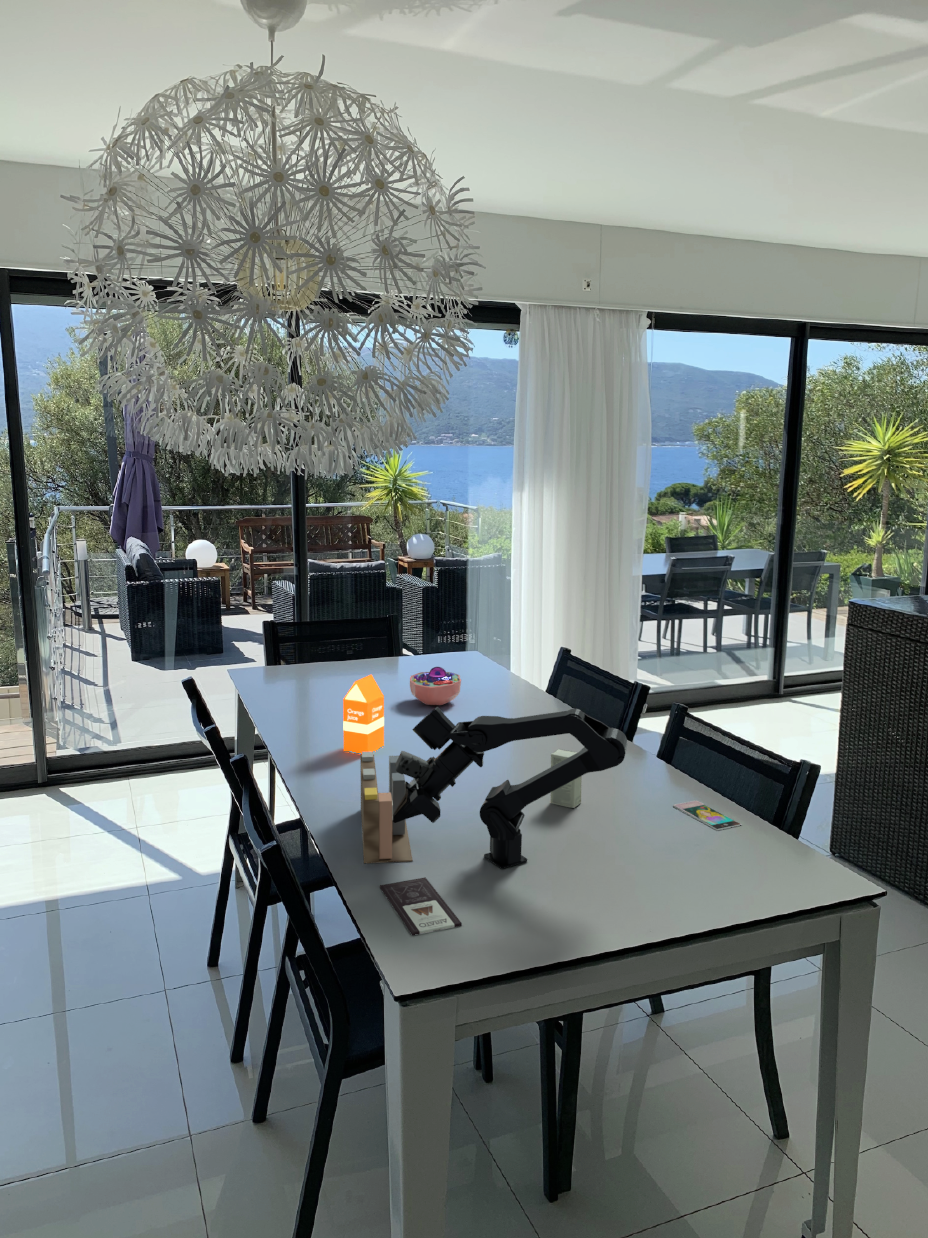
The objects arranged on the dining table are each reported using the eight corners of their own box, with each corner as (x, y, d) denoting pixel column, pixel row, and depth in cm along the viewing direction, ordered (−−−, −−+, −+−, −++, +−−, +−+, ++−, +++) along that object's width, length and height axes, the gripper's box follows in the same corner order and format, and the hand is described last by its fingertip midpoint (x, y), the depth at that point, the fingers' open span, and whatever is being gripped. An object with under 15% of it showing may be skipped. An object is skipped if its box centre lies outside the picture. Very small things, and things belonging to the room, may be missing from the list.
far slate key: (400, 806, 205) (401, 755, 203) (402, 813, 201) (402, 762, 198) (388, 806, 205) (389, 755, 203) (390, 814, 200) (390, 762, 198)
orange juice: (384, 746, 248) (384, 675, 244) (368, 756, 240) (367, 683, 236) (360, 742, 251) (359, 672, 248) (342, 751, 243) (342, 679, 240)
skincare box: (581, 803, 210) (583, 753, 208) (573, 809, 207) (575, 758, 204) (556, 797, 214) (558, 748, 211) (548, 803, 210) (550, 753, 208)
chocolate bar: (425, 877, 172) (461, 923, 155) (425, 882, 172) (461, 928, 156) (380, 885, 168) (412, 932, 152) (380, 890, 168) (412, 938, 152)
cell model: (399, 709, 284) (399, 674, 282) (421, 693, 303) (421, 660, 301) (450, 714, 279) (451, 678, 277) (469, 697, 298) (470, 664, 296)
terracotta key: (391, 848, 183) (391, 792, 181) (393, 858, 179) (393, 801, 177) (378, 849, 183) (378, 792, 181) (379, 859, 178) (379, 801, 176)
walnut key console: (403, 808, 206) (403, 749, 203) (412, 861, 179) (412, 794, 177) (360, 810, 204) (360, 750, 202) (363, 863, 178) (363, 796, 175)
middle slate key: (404, 825, 194) (404, 772, 192) (405, 834, 190) (406, 780, 188) (391, 826, 194) (391, 773, 192) (392, 835, 190) (393, 780, 187)
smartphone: (717, 829, 196) (672, 804, 209) (716, 832, 196) (672, 807, 209) (742, 824, 199) (696, 800, 212) (741, 827, 199) (696, 803, 212)
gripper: (415, 725, 187) (362, 778, 187) (423, 755, 168) (364, 813, 169) (453, 760, 189) (401, 812, 190) (464, 793, 171) (406, 851, 172)
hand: (392, 821), depth 180 cm, fingers closed, pressing on terracotta key
